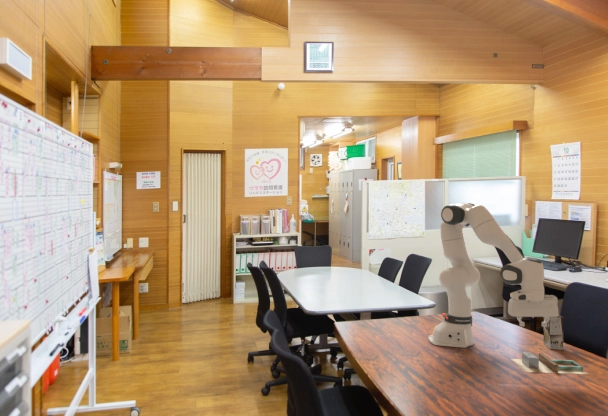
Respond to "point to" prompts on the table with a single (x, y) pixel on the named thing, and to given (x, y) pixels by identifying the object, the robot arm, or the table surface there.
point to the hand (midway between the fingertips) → (533, 326)
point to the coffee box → (554, 333)
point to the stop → (530, 360)
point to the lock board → (552, 366)
